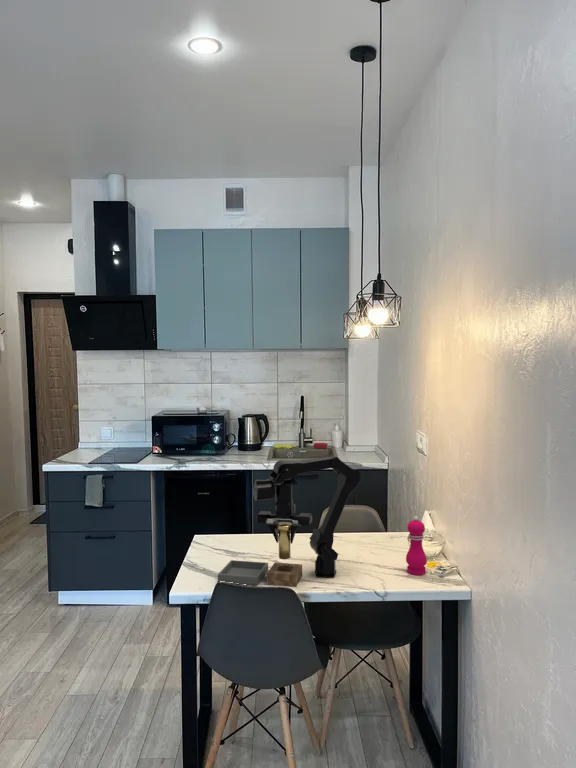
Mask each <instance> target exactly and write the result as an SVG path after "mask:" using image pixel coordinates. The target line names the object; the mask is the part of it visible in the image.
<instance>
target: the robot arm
mask: <svg viewBox="0 0 576 768" xmlns="http://www.w3.org/2000/svg"><path fill="white" fill-rule="evenodd" d="M272 468H273V469H272V470H271V472H270V474H269V475H268V476H267V479H255V480H254V484H253V488H252V494H253V499H254V501H255V502H256V501H265V500H272V499H273V498H275V502H274V508H275V514H274V513H273V514H272V512H271V510H270V511H269V510H268V511H267V510H261V511H259V512H258V514H256V516H255V523H257V524H265V526H266V527H268V528H269V530H270V531H271V533H272V535H273V537H274V540H275V542H276V543H277V544H279V530H277V529H276V524H277V523H279V522H292V525H291V530H290V545H292V544H293V542H294V538H295V536H296V532H297V530H298V528H300V527H301V526H310V525H311V524H312V522H313V515H312V513H310V512H308V513H307V512H300V513H299V514H298V515H295V514H296V507H297V506H296V504H295V503H294V502H293V501H294V500H293V485H295V486H296V485H298V484H299V483H298V481H296V479H295V478H296V477H297V476H299V475H301V474H304V473H311V472H316V471H322V470H327V469H328V470H329V469H332V470H333V471H334V472H335V473H336V474H338V477H337V481H336V483H337V486H336V487H337V488H336V491H335V493H334V495H333V499H332V500H331V503H330V505H329V507H328V510H327V512H326V515H325V517H324V519H323V522H322V525H320V527H318V528H317V529H316V528H313V530H312V534H311V535H310V537H309V546H310V548H311V550H313V551H314V553H315V554H316V555H317V556H316V559H315V561H314V566H315V567H314V571H315V572H314V573H315V577H320V578H321V577H322V578H335V577H336V574H337V569H336V567H337V566H336V563H337V562H336V560H338V556H339V553H338V552H337V551H336V550H334V548H333V544H334V537H335V536H334V534H335V533H334V532H335V529H336V527H337V525H338V522H339V520H340V518H341V516H342V513H343V511H344V510H345V509H344V508H345V506H346V504H347V501H348V499H349V496H350V495H351V494H352V493H353V492H354V491H355V490H356V489H357V487H358V486H359V484H360V482H361V480H362V474H361V472H360V471H359V470H358V469H356V468H353V467H351V466H349V465H347V464H346V463H345V462H343V461H342V460H341V459H340V458H339V457H338V456H335V455H333V454H332V455H328V456H323V457H317V458H310V459H305V460H289V459H287V460H286V459H285V460H284V459H281V460H277V461H276V462H275V463H274V465H273V467H272Z"/></svg>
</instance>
